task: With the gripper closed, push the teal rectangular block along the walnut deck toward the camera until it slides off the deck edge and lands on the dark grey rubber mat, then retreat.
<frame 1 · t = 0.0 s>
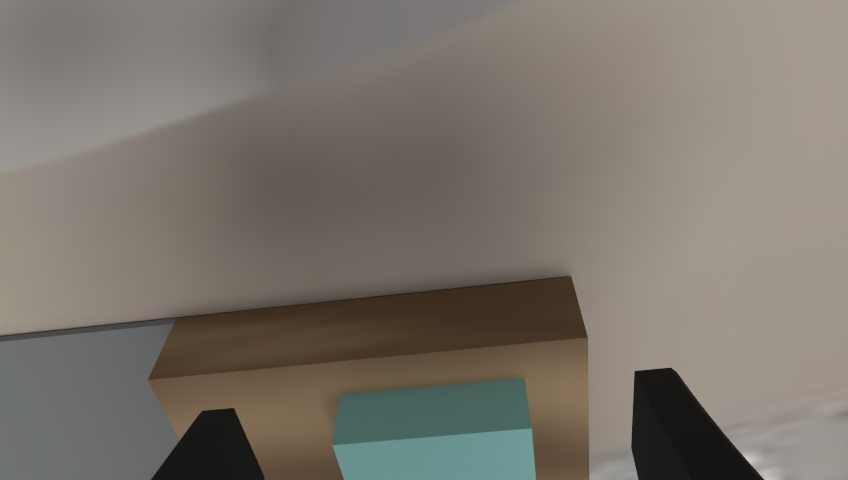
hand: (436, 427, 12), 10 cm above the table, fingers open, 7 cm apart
teal rectangular block: (448, 473, 24), point 3 cm above the table, touching deck
mat: (88, 440, 28), on the table
deck: (396, 413, 27), on the table
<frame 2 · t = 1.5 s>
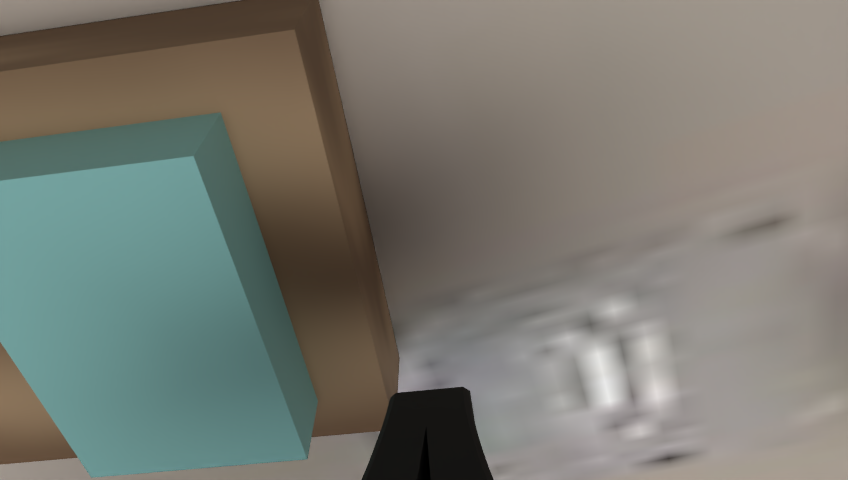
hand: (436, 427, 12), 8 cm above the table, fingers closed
teal rectangular block: (161, 290, 17), point 3 cm above the table, touching deck
deck: (130, 233, 20), on the table
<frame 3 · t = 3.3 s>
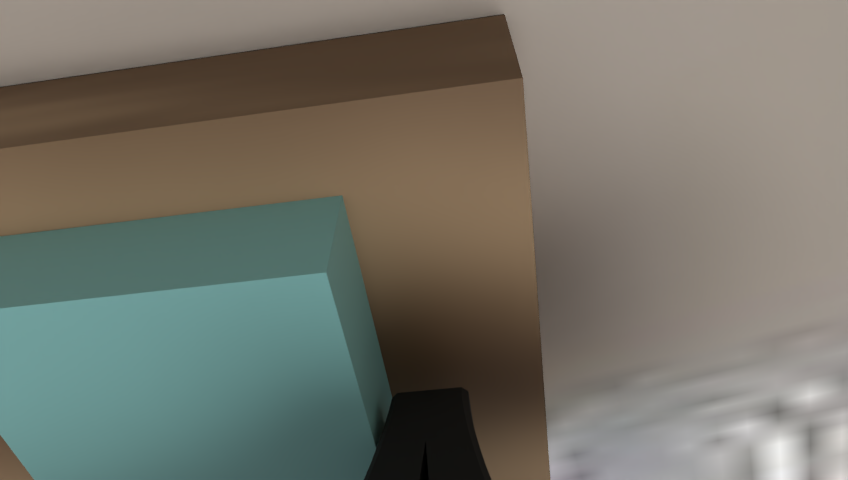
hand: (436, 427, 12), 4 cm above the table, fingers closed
teal rectangular block: (242, 405, 14), point 3 cm above the table, touching gripper
deck: (228, 310, 16), on the table
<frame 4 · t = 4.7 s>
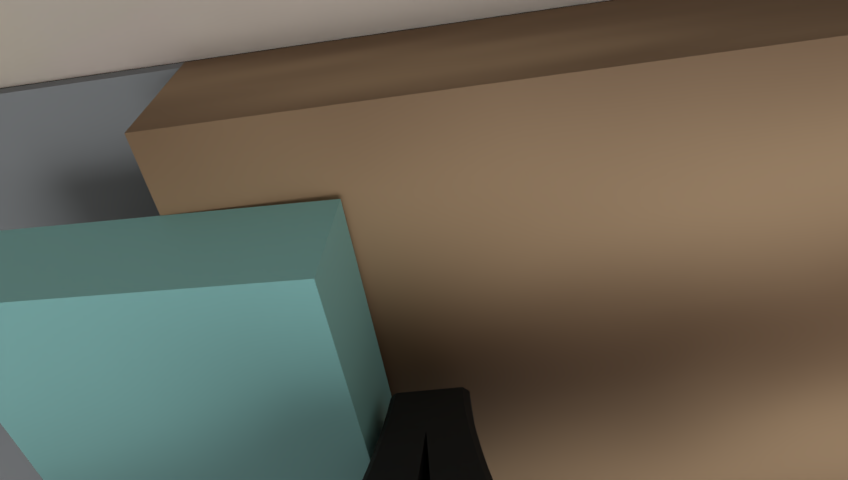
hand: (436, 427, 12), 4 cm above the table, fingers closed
teal rectangular block: (244, 404, 14), point 3 cm above the table, touching gripper
mat: (33, 332, 17), on the table
deck: (572, 274, 15), on the table
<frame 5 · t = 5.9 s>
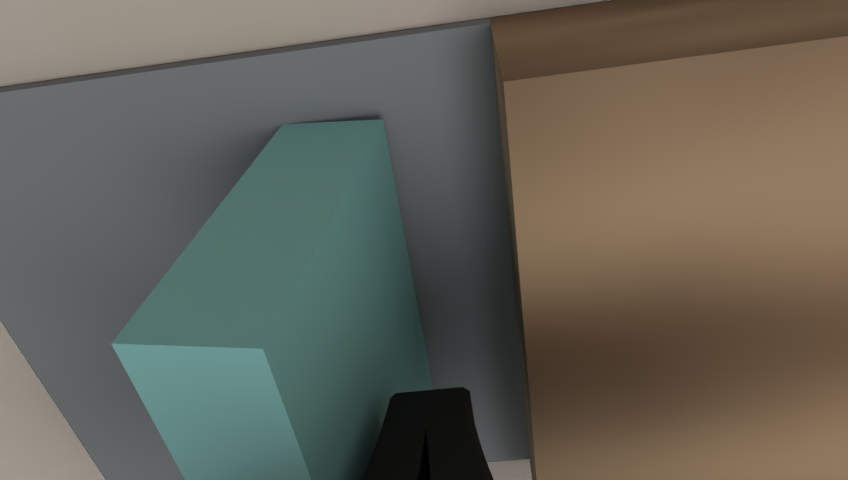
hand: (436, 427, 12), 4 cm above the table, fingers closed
teal rectangular block: (387, 409, 13), point 4 cm above the table, tilted 100°, touching mat
mat: (258, 307, 16), on the table
deck: (834, 246, 15), on the table
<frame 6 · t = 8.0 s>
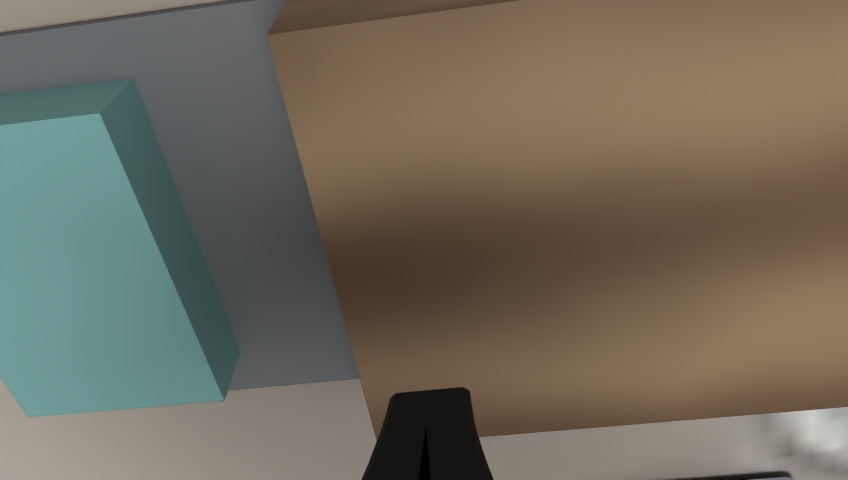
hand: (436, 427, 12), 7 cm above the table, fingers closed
teal rectangular block: (57, 289, 17), point 2 cm above the table, tilted 180°, touching mat
mat: (138, 238, 19), on the table
deck: (605, 185, 18), on the table
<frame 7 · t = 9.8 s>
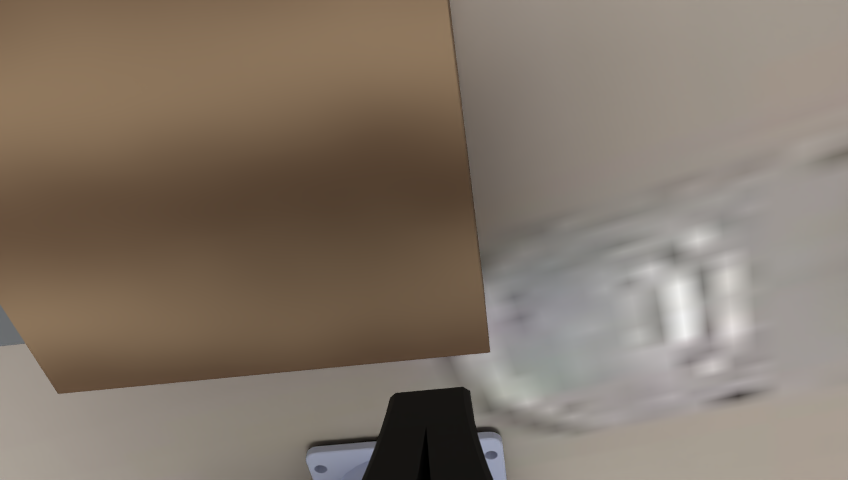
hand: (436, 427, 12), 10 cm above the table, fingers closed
deck: (233, 160, 20), on the table
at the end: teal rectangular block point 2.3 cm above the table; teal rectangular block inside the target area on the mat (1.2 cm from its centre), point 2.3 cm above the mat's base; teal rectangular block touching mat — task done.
